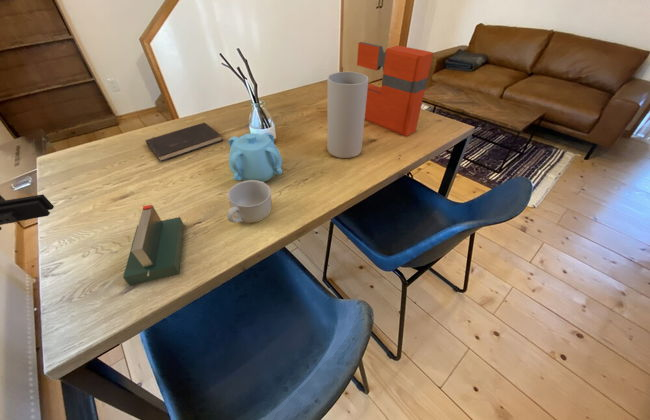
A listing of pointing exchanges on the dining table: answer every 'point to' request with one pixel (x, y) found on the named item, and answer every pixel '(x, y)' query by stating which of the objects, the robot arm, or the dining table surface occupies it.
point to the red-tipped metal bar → (147, 237)
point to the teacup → (249, 201)
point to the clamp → (395, 85)
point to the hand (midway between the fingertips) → (45, 205)
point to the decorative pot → (254, 157)
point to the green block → (159, 255)
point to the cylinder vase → (346, 113)
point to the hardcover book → (183, 141)
